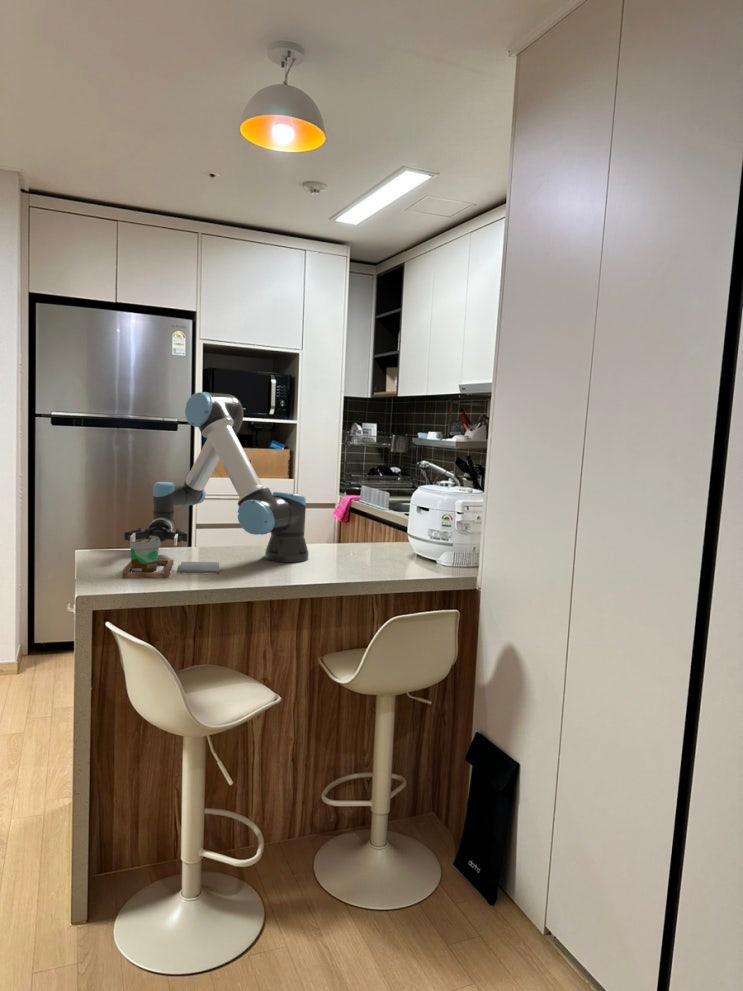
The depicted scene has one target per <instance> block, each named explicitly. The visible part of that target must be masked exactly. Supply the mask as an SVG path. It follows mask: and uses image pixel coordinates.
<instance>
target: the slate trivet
mask: <svg viewBox="0 0 743 991" xmlns="http://www.w3.org/2000/svg"><path fill="white" fill-rule="evenodd" d="M219 569H220V561H180V565H179V568H178V572H177V573H218V574H219V571H218V570H219Z"/></svg>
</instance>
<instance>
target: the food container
mask: <svg viewBox="0 0 743 991" xmlns="http://www.w3.org/2000/svg"><path fill="white" fill-rule="evenodd" d="M149 537H150V538H149V539H139V540H138V541H135V542H131V544H130V543H129V549H130V561H131V565H132V572H154V571H155V572H157V569H158V565H157V560H158V559H159V558H158V557H159V551H160V550H159V549H160V548H159V547H161V546H162V542H160V539H159V537H156V536H149Z"/></svg>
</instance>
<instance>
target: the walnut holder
mask: <svg viewBox="0 0 743 991" xmlns="http://www.w3.org/2000/svg"><path fill="white" fill-rule="evenodd" d="M174 561H175V560H174V559H159V558H158V560H157V566H165V568H164V569H163V572H161V571H160V572H157V571H155V572H131V571H132V565H131V560H130V561H129V562H128V564H127V565H126V567H125V568H124V570H123V571H122V574H121V579H140V578H168V579H169V577H170V574H171V572H172V569H173V567H172V566H174ZM162 564H163V565H162ZM170 571H171V572H170Z"/></svg>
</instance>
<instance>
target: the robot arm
mask: <svg viewBox="0 0 743 991" xmlns="http://www.w3.org/2000/svg"><path fill="white" fill-rule="evenodd" d="M185 404H186V405H185V409H184V413H185V418H186V421H187V423H188V424H189V425H190V426H191V427H192V426H193V427H195V428H198V430H199V432H200V434H201V435H202V437H204V438H206V441H205V442H204V444H203V446H202V448H201V450H200V452H199V454H198V456H197V458H196V460H195V461H194V464H193V465H192V467H191V470H189V473H188V475H187V477H186V479H185V480H184V483H183V485H177V486H176V485H175V483H174V482H172V481H157V482H155V483H154V485H153V489H152V490H153V491H152V502H153V503H152V522H151V523H150V525H149V526H148V528H145V529H143V528H141V527H138V528H137V529H133V530H130V531H129V530H128V531H125V532H124V535H123V536H124V537H123V538H124V539H123V540H124V541H128V542H129V545H130V544H131V542H136V541H137V540H138V541H140V540H146V539H149V538H150V536H156V537H159V539H160V542H161V543H162V542H165V541H167V540H172V541H173V547H177V545H178V543H181V542H188V533H186V532H183V531H181V530H180V528H179V529H178V528H176V529H174V528H175V526H176V525H175V524H176V522H175V508H177V507H183V506H195V505H199V504H202V503H203V502H204V501H205V500H206V489H205V488H206V486H207V484H208V483H209V480H210V479H211V476H212V475H213V473H214V471H215V469H216V467H217V465H218V463H219V462H221V464H222V466H223V469H224V470H225V471H226V474H227V476H228V478H229V479H230V482H231V484H232V486H233V487H234V490H235V492H236V493H237V495H238V497H239V498H238V501H237V506H238V509H237V513H238V514H237V520H238V523H239V525H240V527H241V528H242V529H243V530H244V531H245V532H247V533H249V534H251V535H254V536H255V535H256V536H257V535H258V536H259V535H262V536H263V535H267V534H270V537H269V541H268V543H267V545H266V549H265V550H264V552H265V554H264V557H265V559H266V560H269V561H271V562H272V561H273V562H278V563H280V562H281V563H298V562H301V563H302V562H305V561H308V560H309V550H308V549H309V548H308V545H307V543H306V542H307V541H306V539H305V531H306V530H305V528H306V511H307V510H306V508H307V505H306V503H307V502H306V500H307V499H306V496H304V494H298V493H293V492H292V493H289V492H282V491H281V492H280V491H273V492H272V491H271V490H270V488H269V487H267V486H264V485H263V484H262V482H261V480H260V478H259V476H258V475H257V472H256V470H255V468H254V467H253V465H252V462H251V461H250V459H249V457H248V455H247V453H246V452H245V450H244V448H243V446H242V444H241V442H240V440H239V438H238V436H237V435H238V433H239V431H240V430H241V426H242V424H243V421H244V408H243V405H242V403H241V401H240V400H239V399H238V398H237V397H236V396H234V395H232V394H230V393H217V392H207V391H203V392H201V391H200V392H196V393H193V394H192V395H191V396H190V397H189V398H188V399H187V401H186V403H185Z"/></svg>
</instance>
